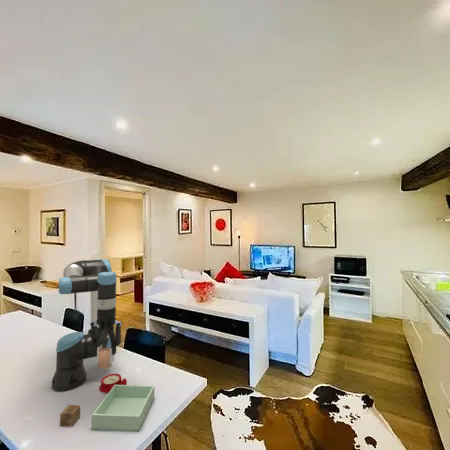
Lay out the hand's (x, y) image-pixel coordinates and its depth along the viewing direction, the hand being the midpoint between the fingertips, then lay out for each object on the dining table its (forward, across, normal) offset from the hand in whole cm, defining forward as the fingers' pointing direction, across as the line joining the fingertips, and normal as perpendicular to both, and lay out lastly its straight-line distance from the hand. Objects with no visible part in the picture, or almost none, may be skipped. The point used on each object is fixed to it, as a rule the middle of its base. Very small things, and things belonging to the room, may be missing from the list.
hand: (105, 361), depth 113 cm
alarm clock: (+20, -4, +14) cm, 24 cm away
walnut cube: (+20, -9, -9) cm, 24 cm away
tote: (+20, +10, -2) cm, 22 cm away
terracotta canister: (+2, 0, 0) cm, 2 cm away
